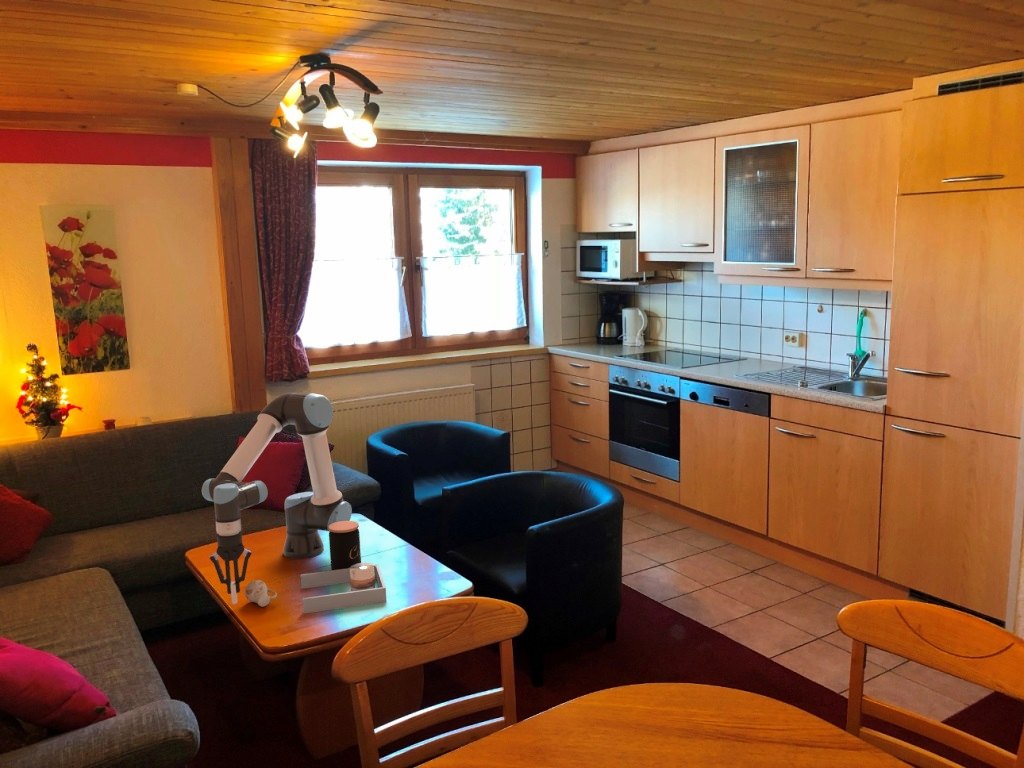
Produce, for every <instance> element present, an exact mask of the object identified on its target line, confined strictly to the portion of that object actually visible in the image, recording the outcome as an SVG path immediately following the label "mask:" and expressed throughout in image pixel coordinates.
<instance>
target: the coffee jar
mask: <svg viewBox="0 0 1024 768" xmlns="http://www.w3.org/2000/svg"><path fill="white" fill-rule="evenodd" d="M359 527H360V526H359V522H357V521H355V520H350V521H339V522H335V523H332V524H331V525H329V526H328V528H329V531H330V532H329V531H328V532H329V533H328V540H329V556H330V571H332V570H340V569H347V568H350V567H351V566H352V565H354V564H358V563H362V553H361V541H360V540H361V538H360V537H361V536H360V530H359Z"/></svg>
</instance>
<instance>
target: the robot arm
mask: <svg viewBox="0 0 1024 768" xmlns="http://www.w3.org/2000/svg"><path fill="white" fill-rule="evenodd" d="M333 416H334V408H333V405H332V402H331V400H330V399H328V397H326V396H325V395H323V394H318V393H313V392H312V393H299V392H286V393H282V394H280V395H278V396H277V397H275V398H274V399H272V400H271V401H270V402H269V403H268V404H267V405H265V407H264V408H263V409H262V410H261V411H260V413H259V414H258V415H257V421H256V423H255V424H254V426H253V427H252V428H251V429H250V431H249V432H248V434H247V435H246V437H244V438H243V441H242V442H241V443H240V445H239V446H238V447H237V448H236V449H235V451H234V453H233V454H232V455H231V457H230V458H229V460H228V461H227V463H226V464H225V465H224V467H223V468H222V469H221V470H220V472H219V474H217V476H216V478H214V477H213V478H208V479H206V480H205V481H204V482H203V484H202V487H201V494H202V497H203V498H204V499H205V500H206V501H209V502H213V504H214V505H213V506H214V514H215V515H214V518H215V530H216V534H217V535H216V543H217V549H216V551H215V552H214V553H211V554H210V556H209V560H210V561H211V563H213V565H214V568H215V571H216V573H217V577H218V579H219V582H220V584H222V585H223V584H225V585H226V590H227V591H226V593H227V594H228V595H230V597H231V605H236V604H238V593H240V591H241V584H240V583H242V582H244V581H245V579H246V575H247V574H246V573H247V569H248V564H249V559H250V557H251V555H252V550H251V549H247V548H245V545H244V543H243V534H242V520H241V511H243V510H245V509H248V508H250V507H253V506H255V505H258V504H260V503H262V502H264V501H266V500H267V498H268V494H269V493H268V488H267V485H266V483H264V482H263V481H262V480H252V481H250V482H244V481H242V480H244V478H245V477H246V475H247V474H248V472H249V471H250V470H251V468H252V467H253V465H254V464H255V463H256V461H257V460H258V459H259V457H260V456H261V454H262V453H263V452H264V450H265V449H266V448H267V446H268V445H269V443H270V442H271V441H272V439H273V438H274V436H275V434H277V433H280V432H281V431H282V430H283V428H285V427H286V426H288V425H289V426H290V425H291V426H292V425H293V426H294V427H295V431H296V434H297V435H298V436H299V437H302V443H303V449H304V454H305V458H306V464H307V468H308V472H309V477H310V479H309V480H310V484H311V486H312V487H311V488H312V491H304V492H298V493H294V494H292V495H289V496H287V497H286V498H285V500H284V515H285V516H284V517H285V526H286V527H285V529H286V536H285V541H284V545H283V550H282V551H283V556H284V557H285V558H287V559H291V560H304V559H308V558H309V559H310V558H313V557H316V556H319V555H321V554H322V553H323V552H324V551H325V550H324V543H323V540H322V537H321V535H320V533H319V531H325V532H330V531H329V528H328V526H329V525H331V524H332V523H335V522H339V521H351V519H352V513H353V511H352V510H353V508H352V505H351V503H349V502H348V501H345V500H344V498H343V493H342V491H340V490H338V489H337V484H336V479H335V478H336V477H335V473H334V468H333V462H332V458H331V454H330V453H331V452H330V446H329V442H328V436H327V431H328V430H329V428H330V424H331V423H332V421H333ZM242 554H243V556H244V559H243V565H242V571H241V575H240V573H239V572H240V571H239V570H240V569H239V559H240V557H241V556H242ZM219 557H220V558H221V559H222V560H223V561H224V565H225V566H224V567H225V569H224V570H225V575H224V573H223V570H222V567H221V565H220V562H219ZM231 561H232V563H233V572H234V575H233V576H234V581H232V578H231V577H232V576H231V567H230V566H231V564H230V562H231Z"/></svg>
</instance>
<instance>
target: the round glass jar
mask: <svg viewBox="0 0 1024 768" xmlns="http://www.w3.org/2000/svg"><path fill="white" fill-rule="evenodd" d="M374 565H375V564H373V563H370V562H361V563H358V564H354V565H352V566H351V567H350V582H349V583H350V592H352V591H360V590H367V589H374V588H376V579H375V574H374Z"/></svg>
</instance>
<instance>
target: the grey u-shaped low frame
mask: <svg viewBox="0 0 1024 768" xmlns="http://www.w3.org/2000/svg"><path fill="white" fill-rule="evenodd" d="M373 565H374V574H375V580H376V581H377V583H378V587H375V588H374V589H367V590H360V591H352V592H351V591H346V592H339V593H331V594H324V595H317V596H311V597H303V598H302V600H301V601H302V612H303V614H304V615H305V614H311V613H317V612H322V611H330V610H337V609H344V608H350V607H357V606H365V605H370V604H376V603H377V604H378V603H383V602H385V603H386V602H387V587H386V585H385V582H384V578H383V576H382V573H381V570H380V567H379V564H373ZM299 577H300V586H301V587H300V588H301V589H302V590H303V589H309V588H311V589H312V588H316V587H317V588H318V587H326V586H330V585H331V584H333V585H338V583H340V584H345V583H346V582H347V583H351V582H350V568H347V569H340V570H332V571H331V570H326V571H318V572H311V573H303V574H300V576H299ZM347 583H346V584H347ZM331 586H332V585H331Z"/></svg>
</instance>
